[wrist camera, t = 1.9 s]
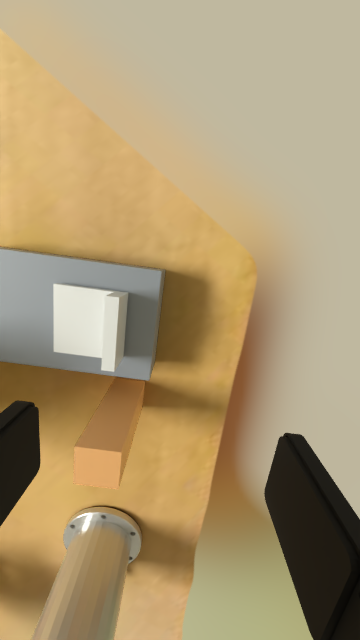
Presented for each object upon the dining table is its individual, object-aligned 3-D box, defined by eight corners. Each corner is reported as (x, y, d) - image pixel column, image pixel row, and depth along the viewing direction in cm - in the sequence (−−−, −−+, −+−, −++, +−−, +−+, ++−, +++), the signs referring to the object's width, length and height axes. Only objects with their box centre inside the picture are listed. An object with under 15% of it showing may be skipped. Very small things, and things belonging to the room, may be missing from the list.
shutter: (123, 357, 24) (114, 371, 21) (57, 348, 24) (38, 362, 21) (128, 292, 23) (119, 297, 19) (57, 283, 23) (37, 286, 19)
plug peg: (142, 406, 32) (118, 489, 20) (113, 402, 32) (73, 483, 20) (145, 380, 31) (121, 452, 19) (115, 377, 31) (74, 446, 19)
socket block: (154, 361, 30) (149, 380, 25) (3, 341, 30) (-33, 357, 25) (165, 269, 27) (161, 271, 22) (-3, 246, 27) (-44, 242, 22)
